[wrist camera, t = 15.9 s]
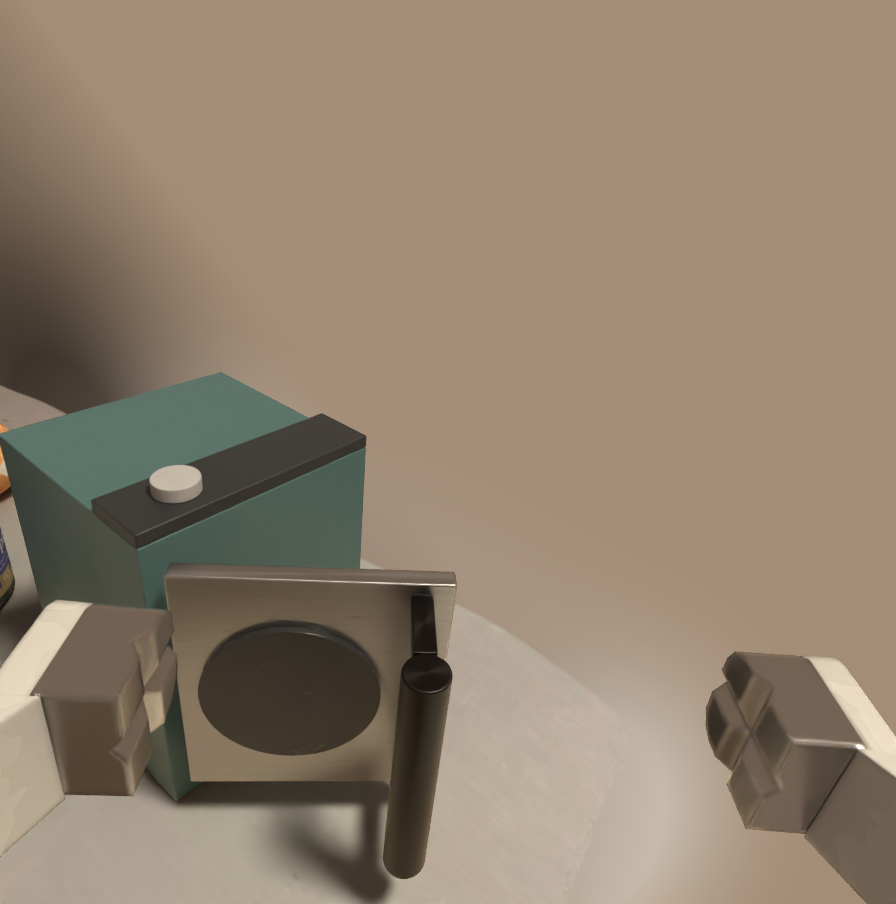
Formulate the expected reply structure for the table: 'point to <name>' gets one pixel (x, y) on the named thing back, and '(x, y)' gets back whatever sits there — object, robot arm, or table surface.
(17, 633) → the table surface
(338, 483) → the washer
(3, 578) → the pill bottle
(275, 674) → the washer door
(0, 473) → the orange twig figurine
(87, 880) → the table surface
